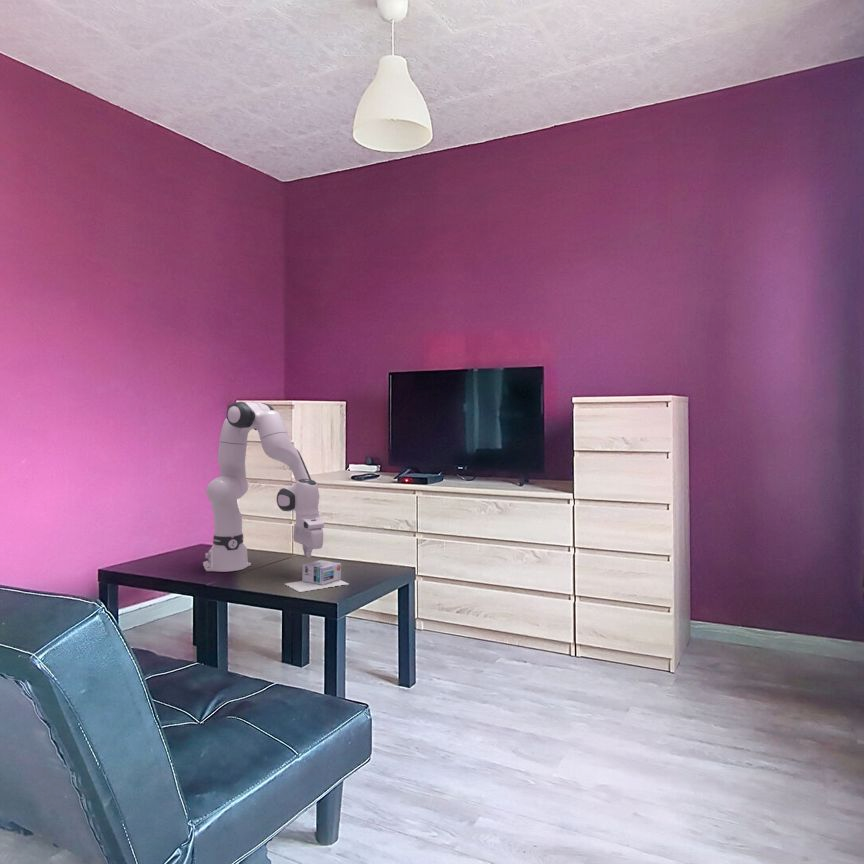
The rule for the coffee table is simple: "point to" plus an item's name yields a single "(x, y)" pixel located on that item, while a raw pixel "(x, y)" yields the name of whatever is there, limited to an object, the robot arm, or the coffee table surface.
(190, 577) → the coffee table surface
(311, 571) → the light bulb box
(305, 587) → the mat
